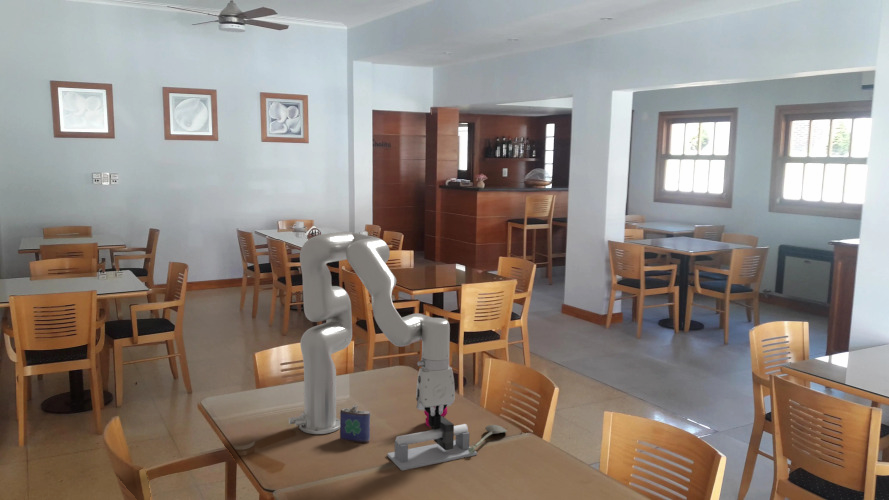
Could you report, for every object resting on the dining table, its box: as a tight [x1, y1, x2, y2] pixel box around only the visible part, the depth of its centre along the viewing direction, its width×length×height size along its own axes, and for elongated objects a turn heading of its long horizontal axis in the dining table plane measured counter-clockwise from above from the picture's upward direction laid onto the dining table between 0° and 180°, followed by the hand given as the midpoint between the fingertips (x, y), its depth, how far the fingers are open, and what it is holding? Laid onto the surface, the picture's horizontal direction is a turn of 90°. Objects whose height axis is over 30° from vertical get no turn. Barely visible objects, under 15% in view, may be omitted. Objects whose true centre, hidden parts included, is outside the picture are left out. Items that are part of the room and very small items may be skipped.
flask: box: [339, 404, 371, 444], centre depth 197 cm, size 9×3×11 cm, turn 74°
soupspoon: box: [468, 424, 508, 453], centre depth 197 cm, size 22×3×7 cm
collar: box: [433, 416, 455, 450], centre depth 189 cm, size 2×7×7 cm, turn 27°
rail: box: [386, 423, 478, 471], centre depth 187 cm, size 23×10×7 cm, turn 117°
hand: (434, 427), depth 187 cm, fingers closed
